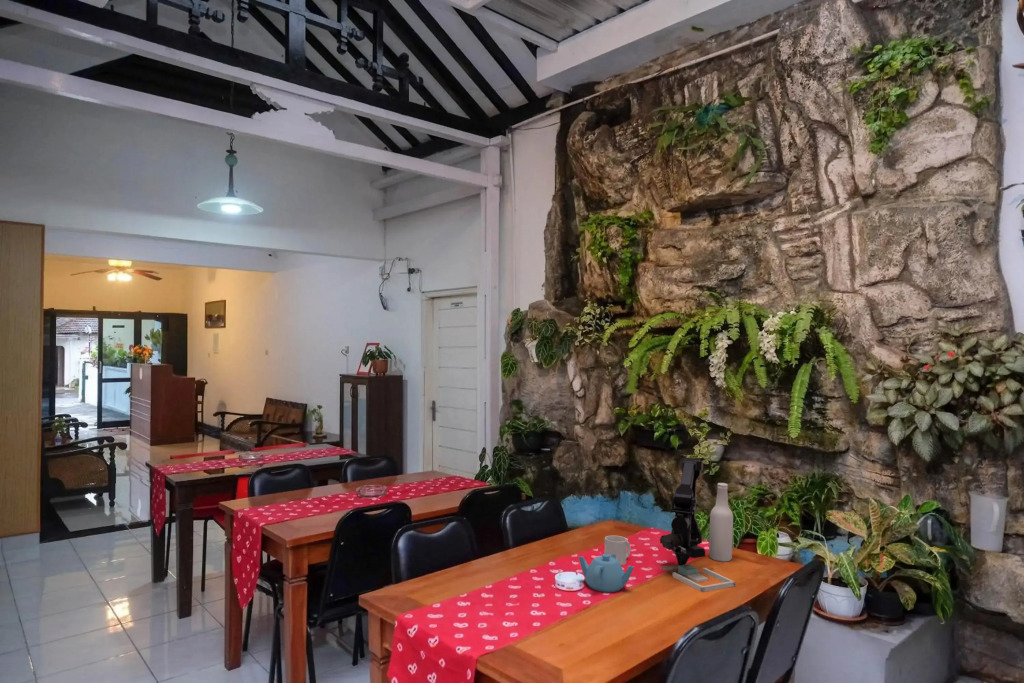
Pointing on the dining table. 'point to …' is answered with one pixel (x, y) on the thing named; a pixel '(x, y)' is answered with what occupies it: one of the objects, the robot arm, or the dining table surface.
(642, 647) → the dining table surface
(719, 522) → the alcohol
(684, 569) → the sage green block
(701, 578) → the white tile
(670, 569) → the board
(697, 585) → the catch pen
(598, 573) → the teapot
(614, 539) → the mug
